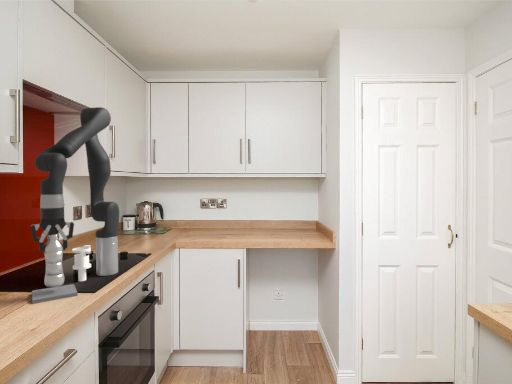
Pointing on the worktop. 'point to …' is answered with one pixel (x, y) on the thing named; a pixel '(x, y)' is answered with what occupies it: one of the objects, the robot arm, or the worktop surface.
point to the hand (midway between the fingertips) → (53, 250)
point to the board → (53, 293)
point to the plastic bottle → (53, 261)
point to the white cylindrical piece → (82, 261)
